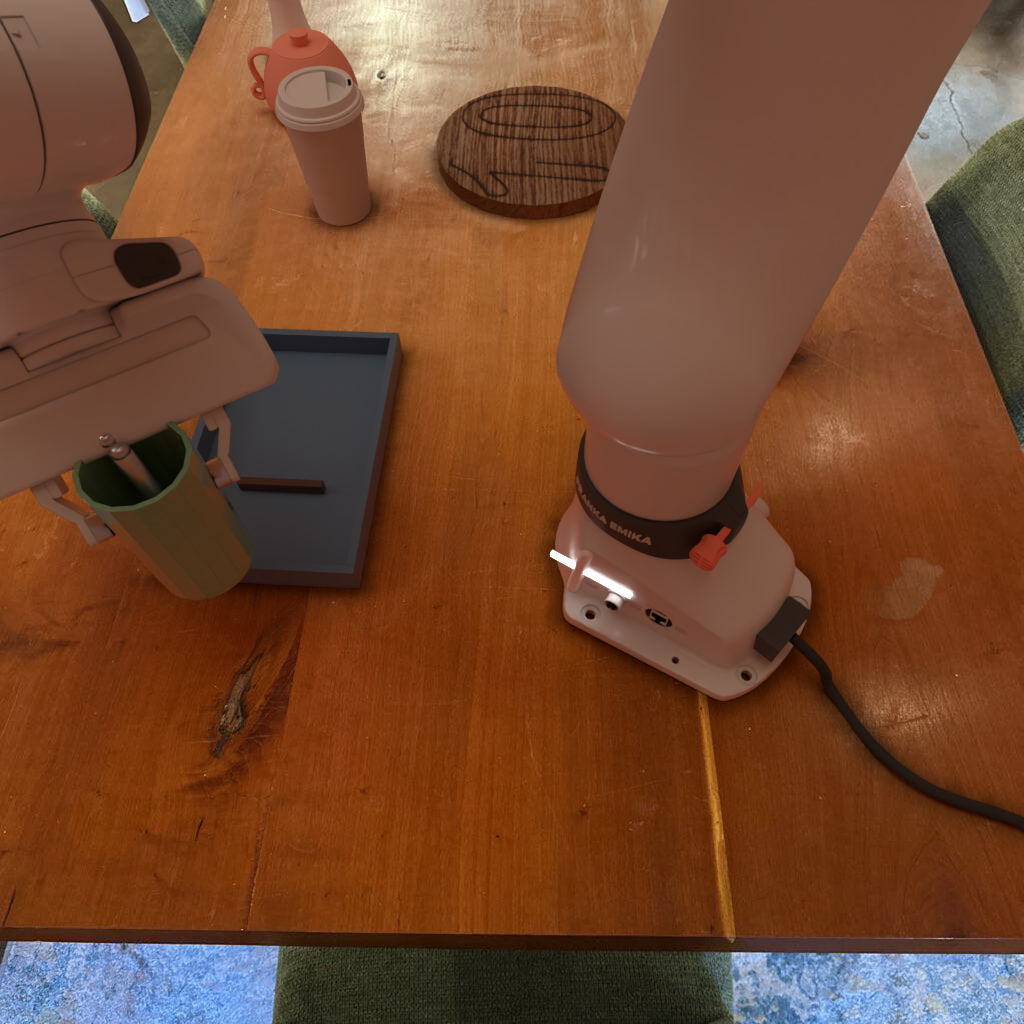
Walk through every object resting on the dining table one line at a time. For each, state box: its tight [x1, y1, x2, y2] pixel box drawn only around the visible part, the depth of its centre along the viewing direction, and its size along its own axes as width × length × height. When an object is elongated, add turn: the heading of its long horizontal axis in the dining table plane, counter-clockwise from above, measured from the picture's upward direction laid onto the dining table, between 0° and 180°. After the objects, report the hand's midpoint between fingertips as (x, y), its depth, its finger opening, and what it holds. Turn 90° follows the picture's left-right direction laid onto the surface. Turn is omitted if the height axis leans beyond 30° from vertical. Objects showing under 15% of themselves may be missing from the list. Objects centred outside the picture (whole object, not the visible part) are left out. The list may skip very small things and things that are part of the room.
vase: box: [266, 0, 312, 49], centre depth 107 cm, size 8×8×10 cm
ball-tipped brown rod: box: [110, 443, 165, 500], centre depth 49 cm, size 1×1×12 cm
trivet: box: [435, 85, 626, 220], centre depth 97 cm, size 25×25×2 cm
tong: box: [99, 434, 147, 501], centre depth 50 cm, size 1×1×12 cm
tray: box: [191, 327, 404, 590], centre depth 73 cm, size 28×18×3 cm, turn 176°
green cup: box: [71, 421, 254, 601], centre depth 49 cm, size 7×7×12 cm
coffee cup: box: [274, 66, 372, 227], centre depth 87 cm, size 10×10×15 cm
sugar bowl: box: [246, 27, 359, 114], centre depth 100 cm, size 12×14×10 cm
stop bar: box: [237, 477, 326, 494], centre depth 71 cm, size 1×8×1 cm, turn 86°
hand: (169, 511), depth 48 cm, fingers closed on green cup, 7 cm apart
